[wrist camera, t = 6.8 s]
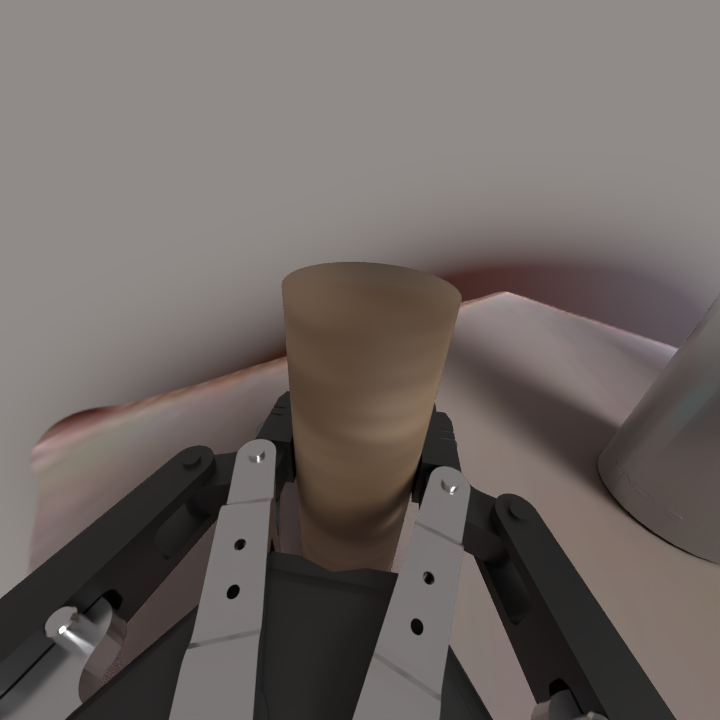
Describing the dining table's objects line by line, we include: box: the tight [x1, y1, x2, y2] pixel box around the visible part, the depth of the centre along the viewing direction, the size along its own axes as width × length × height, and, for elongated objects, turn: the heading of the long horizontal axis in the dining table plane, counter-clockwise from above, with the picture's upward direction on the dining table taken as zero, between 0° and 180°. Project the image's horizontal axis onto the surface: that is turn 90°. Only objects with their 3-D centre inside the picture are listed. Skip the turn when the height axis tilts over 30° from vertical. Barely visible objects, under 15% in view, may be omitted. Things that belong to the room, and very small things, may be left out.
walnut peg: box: [282, 262, 461, 572], centre depth 12 cm, size 5×5×16 cm
